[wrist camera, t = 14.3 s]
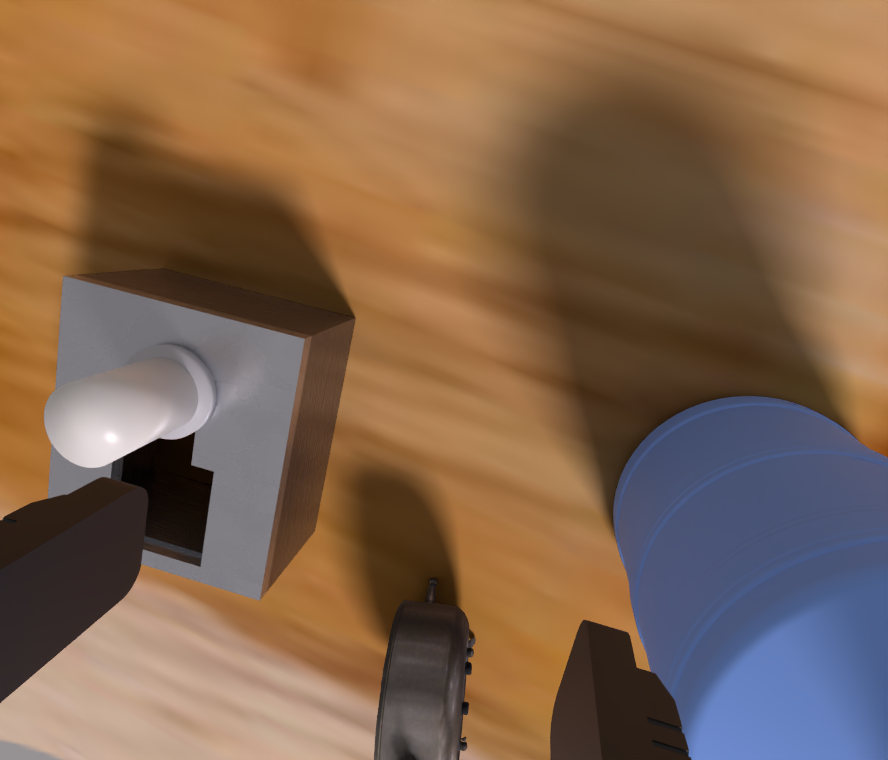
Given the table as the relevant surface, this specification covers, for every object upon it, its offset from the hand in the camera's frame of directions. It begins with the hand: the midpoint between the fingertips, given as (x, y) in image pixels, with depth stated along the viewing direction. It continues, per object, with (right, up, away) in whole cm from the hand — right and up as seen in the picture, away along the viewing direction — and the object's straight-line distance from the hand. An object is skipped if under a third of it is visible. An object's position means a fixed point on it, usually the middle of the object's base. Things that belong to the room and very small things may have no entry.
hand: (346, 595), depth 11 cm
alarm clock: (+2, -15, +34) cm, 37 cm away
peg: (-13, +4, +27) cm, 30 cm away
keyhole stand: (-13, +2, +33) cm, 35 cm away
